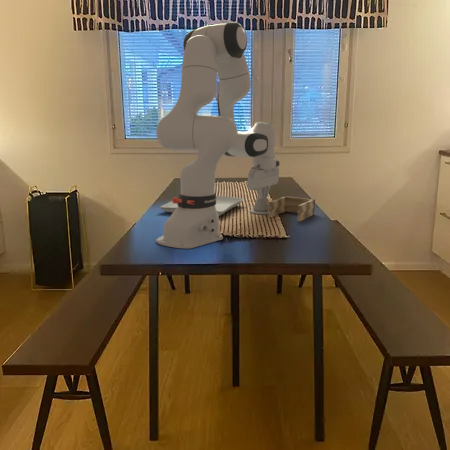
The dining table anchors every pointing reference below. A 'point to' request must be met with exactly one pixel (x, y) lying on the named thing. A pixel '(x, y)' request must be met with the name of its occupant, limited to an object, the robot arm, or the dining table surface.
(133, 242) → the dining table surface
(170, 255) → the dining table surface
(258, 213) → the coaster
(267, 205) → the flask
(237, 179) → the dining table surface
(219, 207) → the square plate
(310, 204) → the u-shaped wooden frame
